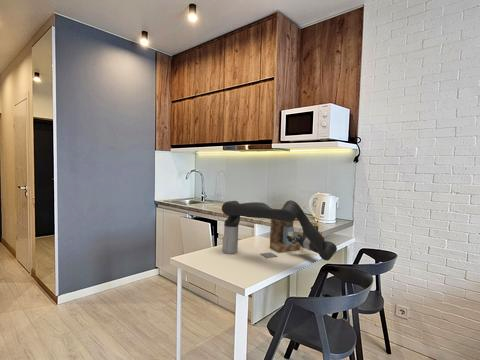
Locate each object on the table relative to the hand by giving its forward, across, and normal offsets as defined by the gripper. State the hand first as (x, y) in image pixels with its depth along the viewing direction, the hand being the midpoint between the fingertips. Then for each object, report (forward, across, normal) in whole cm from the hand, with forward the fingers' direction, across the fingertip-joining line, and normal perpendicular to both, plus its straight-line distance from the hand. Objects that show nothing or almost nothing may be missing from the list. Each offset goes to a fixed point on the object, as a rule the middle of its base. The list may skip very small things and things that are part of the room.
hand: (292, 236), depth 186 cm
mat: (-1, +19, +10) cm, 22 cm away
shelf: (+7, +1, +10) cm, 12 cm away
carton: (+5, 0, +6) cm, 8 cm away
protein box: (+10, -23, +11) cm, 27 cm away
